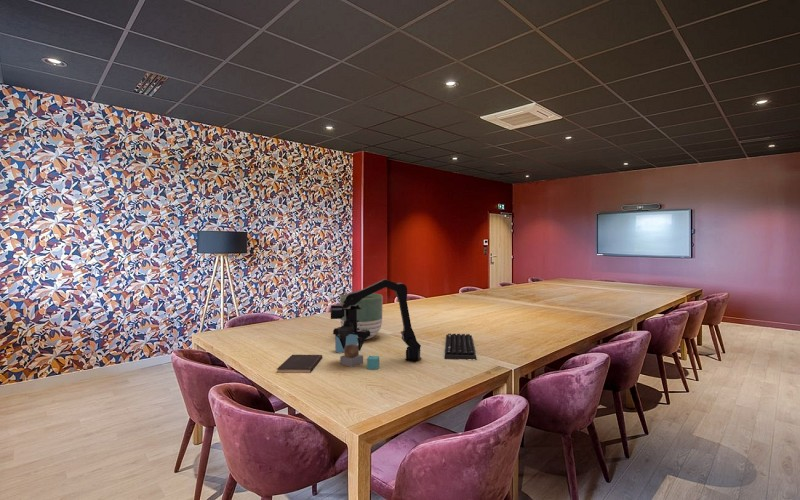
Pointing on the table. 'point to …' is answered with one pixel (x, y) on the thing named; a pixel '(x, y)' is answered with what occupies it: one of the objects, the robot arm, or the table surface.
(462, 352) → the computer keyboard
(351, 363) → the slate base block
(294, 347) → the table surface
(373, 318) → the planter
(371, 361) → the teal cube
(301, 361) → the hardcover book
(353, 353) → the walnut cube
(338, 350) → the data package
